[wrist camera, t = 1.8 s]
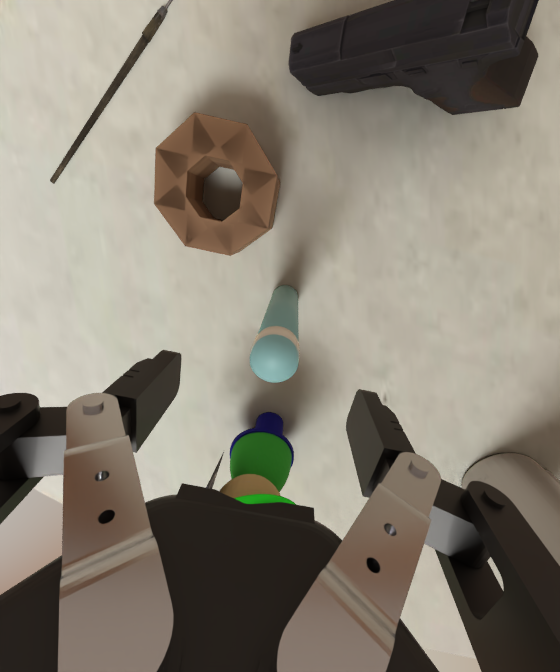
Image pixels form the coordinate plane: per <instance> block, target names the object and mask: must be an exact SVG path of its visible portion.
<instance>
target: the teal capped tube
mask: <svg viewBox="0 0 560 672" xmlns="http://www.w3.org/2000/svg"><path fill="white" fill-rule="evenodd" d="M298 362H299V342H298V294H297V292H296V290H295V289H294V288H292V287H291V286H288V285H282V286H279V287H278V288H276V289H275V291H274V292H273V295H272V297H271V300H270V303H269V305H268V308H267V311H266V313H265V316H264V319H263V322H262V324H261V327H260V330H259V332H258V335H257V336H256V338H255V341H254V343H253V346H252V349H251V354H250V365H251V368H252V370H253V372H254V373H255V374H256V375H257V376H258V377H259V378H261V379H263V380H265V381H268V382H274V383H276V382H282V381H285V380H287V379H289V378H290V377H292V376H293V374H294V373H295V372H296V370H297V367H298Z"/></svg>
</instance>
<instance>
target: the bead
mask: <svg viewBox="0 0 560 672" xmlns="http://www.w3.org/2000/svg"><path fill="white" fill-rule="evenodd" d="M218 167H224V168H229V169H233V170H235V171H236V173H237V175H238V176H239V178H240V179H241V181H242V182H243V186H242V193H241V201H240V208H239V209H238V210H237V211H235V212H234V213H233V214H231V215H230V216H229V217H227V218H226V219H225V220H224V221H223V220H219V219H214V217H213V216H212V214H211V213H210V212H209V210H208V209H207V207H206V206H205V204H204V203H203V201H202V199H203V187H204V179H205V178H206V177H208V176H209V175H210V174H211V173H212V172H214V171H215V170H216V169H217V168H218ZM279 187H280V181H279V179H278V176H277V174H276V172H275V171H274V169H273V167H272V166H271V164H270V162H269V160H268V159H267V157H266V155H265V154H264V152H263V150H262V149H261V147H260V145H259V143H258V142H257V140H256V138H255V137H254V135H253V133H252V131H251V130H250V128H249V126H248V124H244V123H239V122H235V121H231V120H226V119H222V118H217V117H213V116H208V115H204V114H200V113H195V112H194V113H193V114H192V115H191V116H190V117H189V118H188V119H187V120H186V121H185V122H184V123H182V124H181V125H180V126H179V127H178V128H177V129H176V130H175V131H174V132H173V133H172V134H171V135H169V136H168V137H167V138H166V139H165V140H164V141H163V142H162V143H161V144H160V145H159V146H158V147H156V157H155V192H154V204H155V206H156V207H157V208H158V210H159V211H160V212H161V214H162V215H163V216H164V218H165V219H166V221H167V222H168V223H169V225H170V226H171V227H172V229H173V230H174V231H175V233H176V234H177V235H178V237H179V238H180V240H181V241H182V242H183V244H184V245H185V246H188V247H192V248H197V249H202V250H206V251H211V252H216V253H220V254H225V255H229V256H231V255H233V254H235V253H238V252H240V251H241V250H243V249H244V248H245V247H247V246H248V245H250V244H251V243H252V242H254V241H255V240H257V239H258V238H259V237H261V236H262V235H264V234H265V233H266V232H268V231H269V230H270V229H272V226H273V221H274V215H275V210H276V204H277V198H278V193H279Z"/></svg>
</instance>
